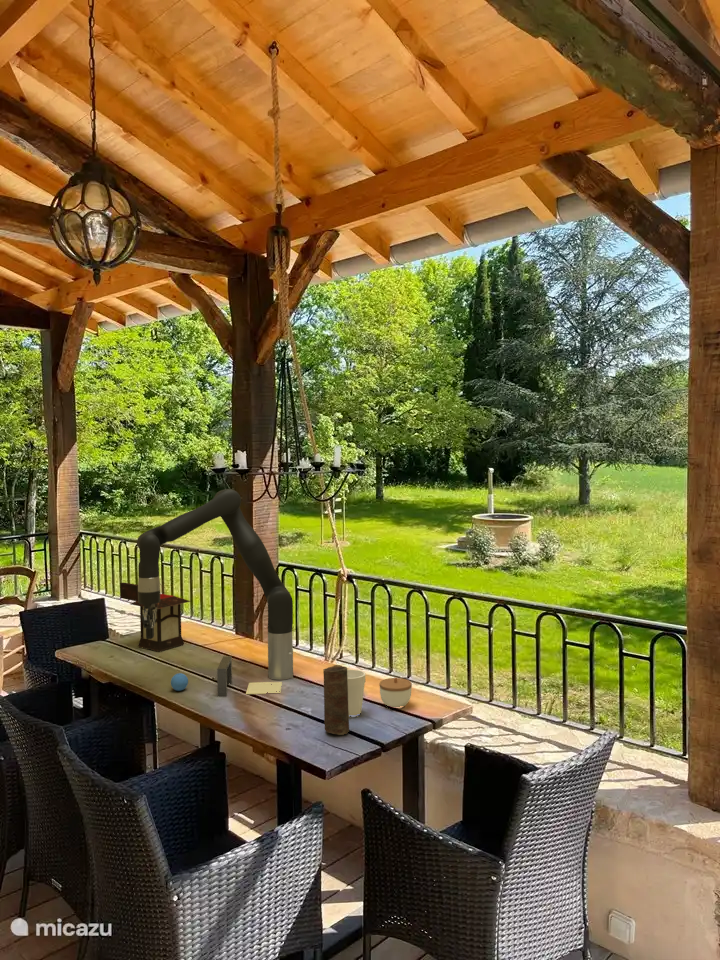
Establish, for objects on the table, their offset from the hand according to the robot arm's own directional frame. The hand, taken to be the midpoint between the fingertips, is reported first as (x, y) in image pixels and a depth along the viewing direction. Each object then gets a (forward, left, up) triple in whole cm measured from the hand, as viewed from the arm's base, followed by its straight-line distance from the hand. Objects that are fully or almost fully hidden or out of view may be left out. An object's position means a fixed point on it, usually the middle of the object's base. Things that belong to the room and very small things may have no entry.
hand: (150, 637), depth 250 cm
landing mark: (-40, 0, -19) cm, 44 cm away
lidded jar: (-85, +21, -19) cm, 90 cm away
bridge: (-26, 0, -19) cm, 32 cm away
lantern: (+12, -56, -19) cm, 60 cm away
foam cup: (-70, +27, -19) cm, 77 cm away
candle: (-65, +42, -19) cm, 80 cm away
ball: (-10, 0, -16) cm, 19 cm away
